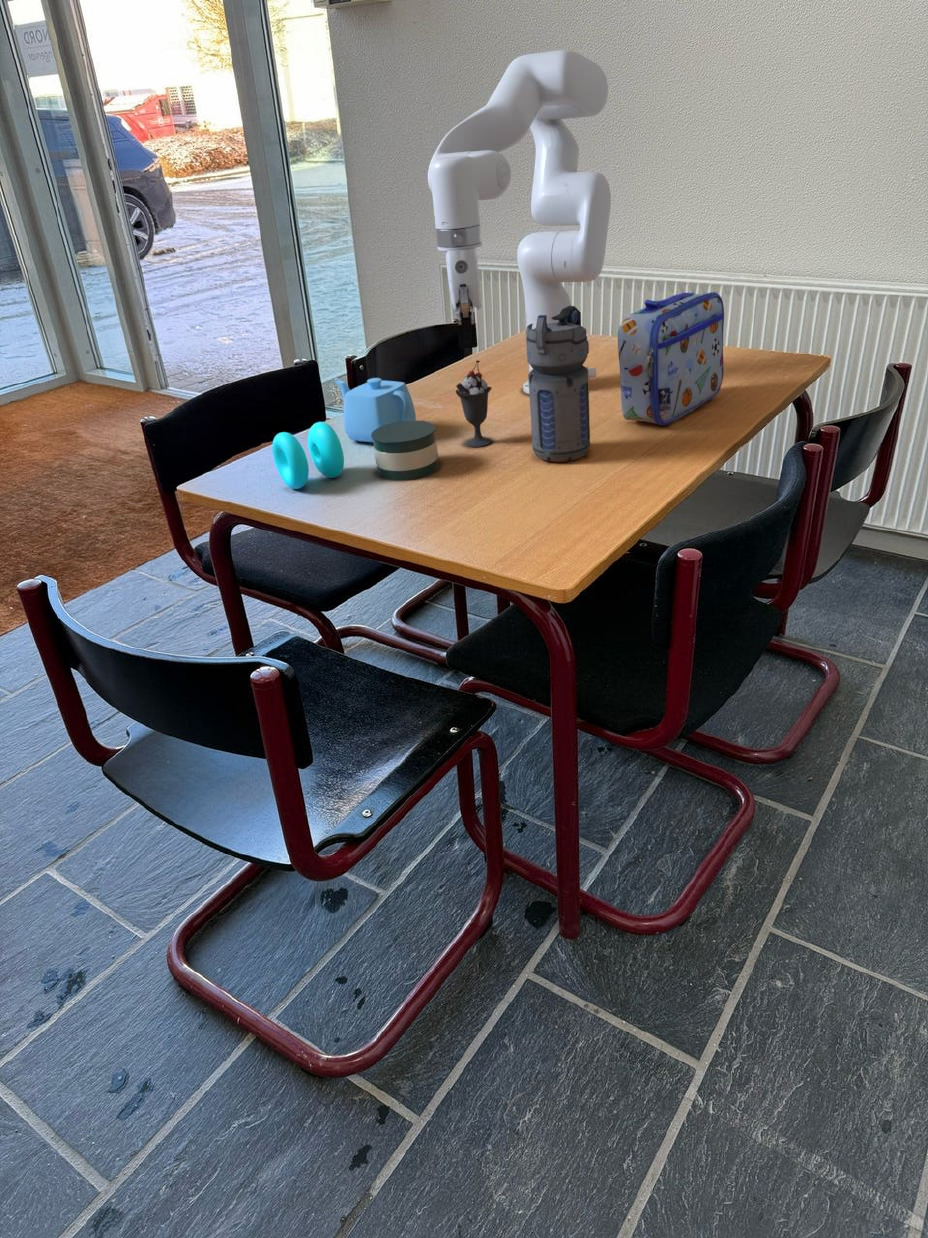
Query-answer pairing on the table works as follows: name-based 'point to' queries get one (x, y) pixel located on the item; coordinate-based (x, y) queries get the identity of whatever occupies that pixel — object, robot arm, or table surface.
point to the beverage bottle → (559, 387)
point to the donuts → (321, 449)
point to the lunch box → (671, 357)
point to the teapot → (374, 407)
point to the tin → (405, 449)
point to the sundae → (474, 404)
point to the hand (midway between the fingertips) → (467, 341)
